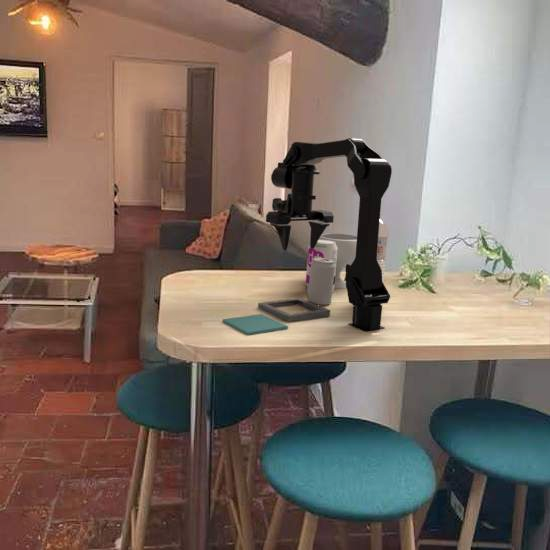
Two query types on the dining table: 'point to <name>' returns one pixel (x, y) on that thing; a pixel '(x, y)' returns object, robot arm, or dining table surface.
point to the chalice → (342, 253)
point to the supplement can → (321, 256)
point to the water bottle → (381, 248)
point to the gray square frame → (314, 313)
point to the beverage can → (321, 281)
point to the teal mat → (255, 324)
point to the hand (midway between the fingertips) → (298, 249)
